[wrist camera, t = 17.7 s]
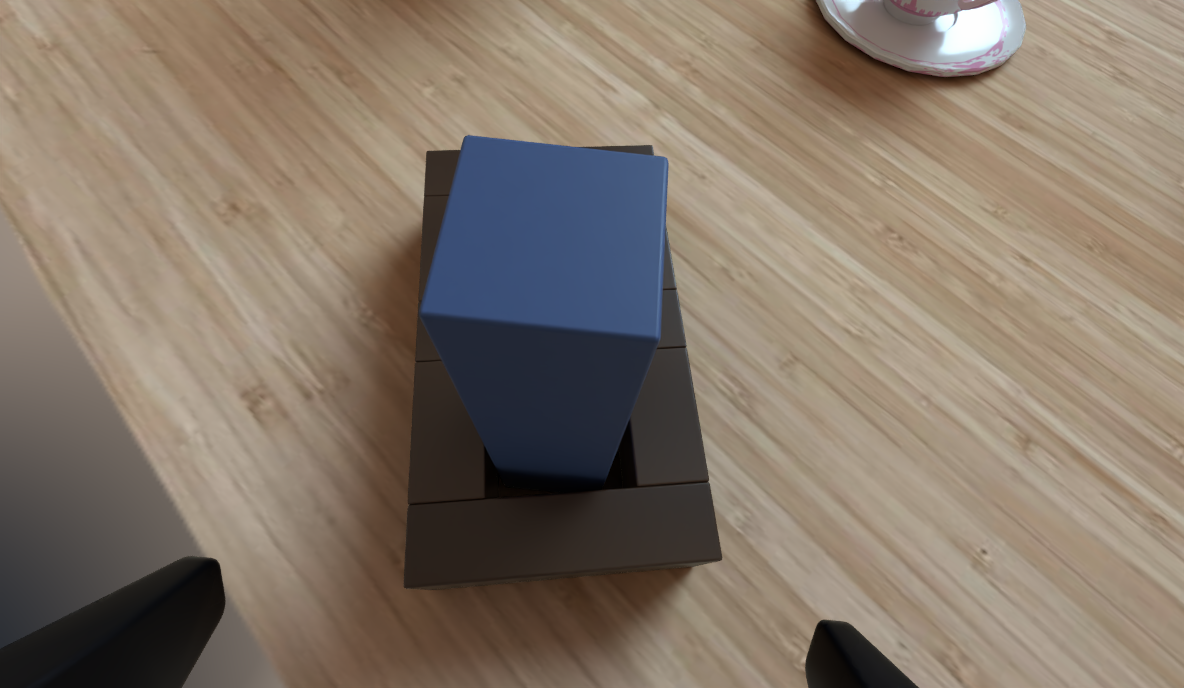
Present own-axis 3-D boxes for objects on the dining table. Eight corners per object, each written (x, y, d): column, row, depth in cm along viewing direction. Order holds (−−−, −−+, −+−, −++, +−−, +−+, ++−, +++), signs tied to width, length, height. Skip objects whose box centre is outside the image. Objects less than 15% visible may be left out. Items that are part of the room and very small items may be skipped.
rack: (695, 566, 19) (723, 560, 15) (430, 590, 18) (402, 588, 15) (641, 201, 25) (652, 144, 22) (443, 208, 24) (425, 150, 21)
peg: (599, 497, 19) (661, 341, 8) (504, 486, 19) (415, 314, 8) (607, 405, 21) (669, 155, 9) (518, 396, 21) (463, 132, 9)
